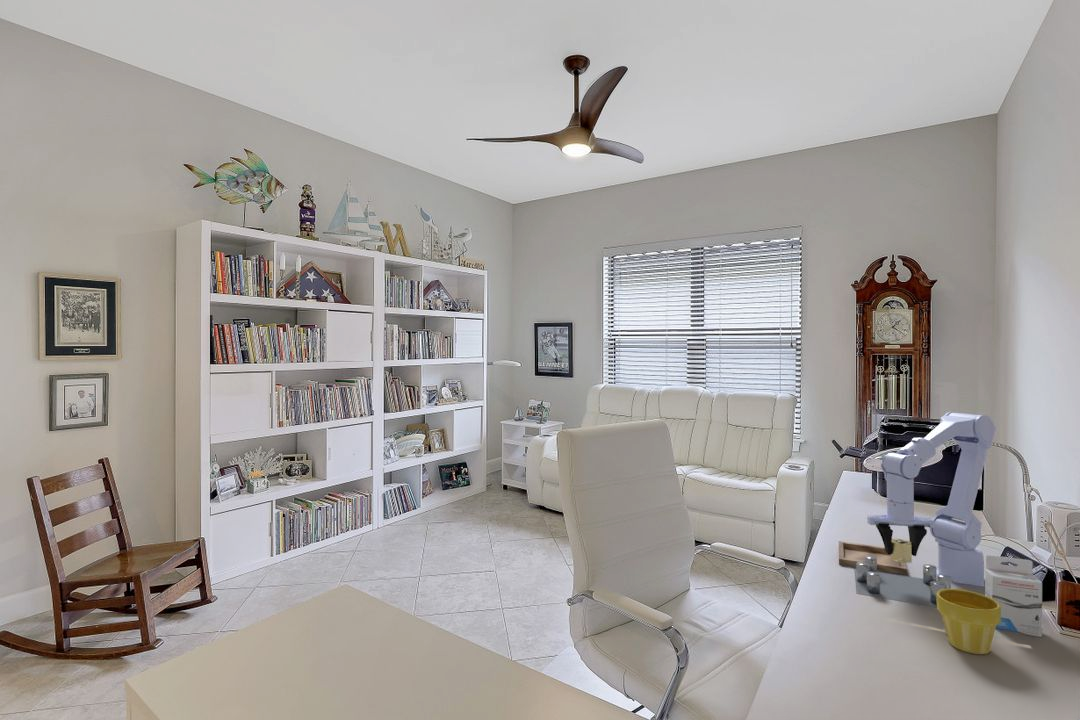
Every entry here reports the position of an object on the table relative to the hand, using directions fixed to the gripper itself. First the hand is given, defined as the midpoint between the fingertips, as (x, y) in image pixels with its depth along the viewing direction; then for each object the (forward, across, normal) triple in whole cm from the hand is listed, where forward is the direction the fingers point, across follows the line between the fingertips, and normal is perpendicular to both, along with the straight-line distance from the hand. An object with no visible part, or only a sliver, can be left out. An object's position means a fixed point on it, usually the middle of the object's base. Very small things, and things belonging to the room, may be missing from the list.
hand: (900, 553), depth 137 cm
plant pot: (+9, -2, +27) cm, 29 cm away
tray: (+9, +1, -18) cm, 20 cm away
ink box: (+9, -15, +17) cm, 25 cm away
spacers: (+9, 0, +1) cm, 9 cm away
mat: (+9, 0, +1) cm, 9 cm away
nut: (+1, 0, 0) cm, 1 cm away
